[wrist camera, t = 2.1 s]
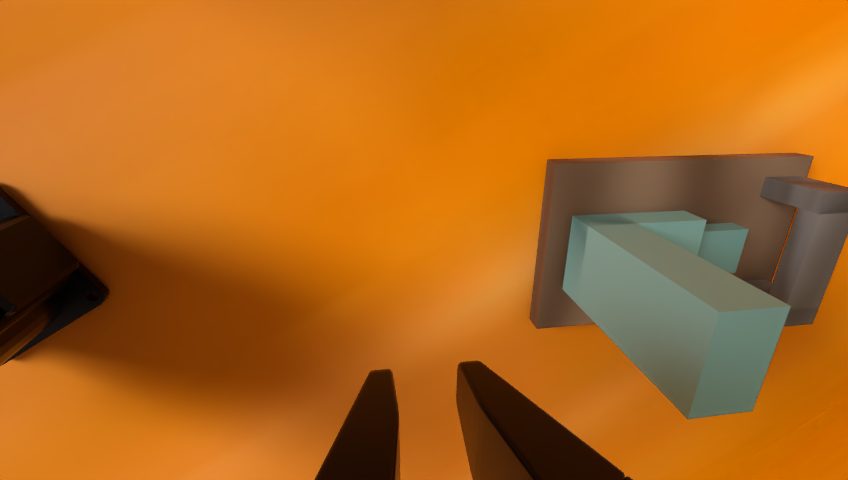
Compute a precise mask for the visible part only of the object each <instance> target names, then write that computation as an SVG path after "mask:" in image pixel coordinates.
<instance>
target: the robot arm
mask: <svg viewBox="0 0 848 480" xmlns="http://www.w3.org/2000/svg"><path fill="white" fill-rule="evenodd" d="M91 291H92V292H95V293H97V295H98V297H95V296H93V295H92V294H91ZM108 296H109V290H108V289H107V287H106V286H105V285H104V284H103V283H101V282H100V281H99V280H98V279H97V278H96V277H95V276H94V275H93V274H92V273H91V272H90V271H89V270H88V269H87V268H86V267H85V266H83V265H82V264H81V263H80V262H79V261H78V259H77V258H76V257H74V256H73V255H72V254H71V253H70V252H69V251H68V250H67V249H66V248H65V247H64V246H63V245H62V244H61V243H60V242H59V241H58V240H56V239H55V238H54V237H53V236H52V235H51V234H50V233H49V232H48V231H47V230H46V229H45V228H44V227H43V226H42V225H41V224H40V223H38V222H37V221H36V220H35V219H34V218H33V217H32V216H30V215H29V214H28V213H27V212H26V211H25V210H24V209H23V208H22V207H21V206H20V205H19V204H18V203H17V202H16V201H15V200H13V199H12V198H11V197H10V196H9V195H8V194H7V193H6V192H5V191H4V190H3V189H2V188H1V187H0V366H1V365H3V364H5V363H6V362H8V361H10V360H11V359H13V358H15V357H16V356H18V355H19V354H21V353H23V352H24V351H26V350H28V349H29V348H31V347H32V346H34V345H36V344H37V343H39V342H41V341H42V340H44V339H45V338H47V337H49V336H50V335H52V334H54V333H55V332H57V331H58V330H60V329H62V328H63V327H65V326H67V325H68V324H70V323H71V322H73V321H75V320H76V319H78V318H80V317H81V316H83V315H84V314H86V313H88V312H89V311H91V310H93V309H94V308H96V307H97V306H99V305H101V304H102V303H103V302H104V301H105V300H106V299H107V298H108ZM456 401H457V408H458V413H459V418H460V423H461V427H462V432H463V437H464V442H465V446H466V451H467V456H468V460H469V465H470V470H471V474H472V478H473V480H633V479H631V478H630V477H628V476H627V477H625V475H624V473H623V472H622V471H621V470H619V469H618V468H617V467H616V466H614V465H613V464H612V463H610V462H609V461H608V460H607V459H605V458H604V457H603V456H601V455H600V454H599V453H597V452H596V451H595V450H594V449H592V448H591V447H590V446H588V445H587V444H586V443H585V442H583V441H582V440H581V439H579V438H578V437H577V436H576V435H574V434H573V433H572V432H570V431H569V430H568V429H567V428H565V427H564V426H563V425H561V424H560V423H559V422H558V421H556V420H555V419H554V418H552V417H551V416H550V415H549V414H547V413H546V412H545V411H543V410H542V409H541V408H540V407H538V406H537V405H536V404H534V403H533V402H532V401H531V400H529V399H528V398H527V397H525V396H524V395H523V394H522V393H520V392H519V391H518V390H516V389H515V388H514V387H513V386H511V385H510V384H509V383H507V382H506V381H505V380H504V379H502V378H501V377H500V376H498V375H497V374H496V373H495V372H493V371H492V370H491V369H489V368H488V367H487V366H486V365H484V364H483V363H482V362H480V361H467V362H461V363H459V365H458V369H457V391H456ZM315 480H400V441H399V411H398V403H397V397H396V391H395V385H394V379H393V373H392V371H391V370H390V369H383V370H373V371H371V372H370V373H369V374H368V376H367V378H366V380H365V382H364V384H363V386H362V388H361V390H360V392H359V394H358V396H357V398H356V400H355V402H354V404H353V406H352V408H351V410H350V411H349V413H348V415H347V417H346V419H345V421H344V423H343V425H342V427H341V429H340V431H339V433H338V435H337V437H336V439H335V441H334V443H333V445H332V447H331V449H330V451H329V453H328V454H327V456H326V458H325V460H324V462H323V464H322V466H321V468H320V470H319V472H318V474H317V476H316V478H315Z"/></svg>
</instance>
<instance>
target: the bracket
mask: <svg viewBox="0 0 848 480" xmlns="http://www.w3.org/2000/svg"><path fill="white" fill-rule="evenodd" d="M813 157H814V156H809V155H804V154H798V153H774V154H736V155H698V156H661V157H623V158H585V159H547V168H546V177H545V186H544V195H543V204H542V213H541V222H540V231H539V240H538V249H537V258H536V267H535V276H534V285H533V294H532V303H531V312H530V320H531V321H532V323H533V324H534V325H535V327H536V328H537V329H539V328H551V327H562V326H574V325H585V324H595V322H594V321H593V320H592V319H591V318H590V317H589V316H588V315H587V314H586V313H585V312H584V311H583V310H582V309H581V308H580V307H579V306H578V305H577V304H576V303H575V302H574V301H573V300H572V299H571V298H570V297H569V296H568V294H567V293H566V292H565V291H564V290H563V289H562V288H563V281H564V274H565V267H566V259H567V252H568V245H569V238H570V231H571V223H572V216H578V215H599V214H620V213H641V212H662V211H687V212H689V213H691V214H694V215H696V216H698V217H701V218H703V219H706V220H707V221H706V224H717V223H734V224H737V225H739V226H742V227H744V228H747V229H749V230H748V233H747V236H746V240H745V243H744V246H743V250H742V253H741V256H740V260H739V263H738V266H737V269H736V273H730V274H732V275H734V276H736V277H738V278H739V279H741V280H743V281H745V282H747V283H749V284H751V285H752V286H754V287H756V288H758V289H760V290H762V291H764V292H766V293H767V294H769V295H771V296H773V297H775V298H777V299H779V300H780V301H782V302H784V303H786V304H788V305H790V306H791V307H790V310H789V313H788V315H787V318H786V321H785V324H784V326H794V325H805V324H812V323H813V321H814V318H815V316H816V313H817V311H818V308H819V306H820V303H821V301H822V298H823V296H824V293H825V290H826V288H827V285H828V283H829V280H830V278H831V275H832V273H833V270H834V268H835V265H836V263H837V260H838V258H839V255H840V252H841V250H842V247H843V245H844V242H845V240H846V237H847V235H848V187H844V186H840V185H836V184H831V183H827V182H823V181H819V180H814V179H810V178H807V175H808V172H809V169H810V166H811V163H812V160H813ZM796 207H797V208H798V210H797V213H796V216H795V219H794V222H793V225H792V228H791V231H790V234H789V237H788V240H787V242H786V245H785V248H784V251H783V254H782V257H781V260H780V263H779V266H778V269H777V272H776V275H775V278H774V281H773V283H771V281H772V278H773V275H774V272H775V269H776V266H777V263H778V260H779V257H780V254H781V251H782V248H783V245H784V242H785V239H786V237H787V234H788V231H789V228H790V225H791V222H792V219H793V216H794V213H795V210H796ZM784 326H783V327H784Z"/></svg>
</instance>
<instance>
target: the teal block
mask: <svg viewBox="0 0 848 480" xmlns="http://www.w3.org/2000/svg"><path fill="white" fill-rule="evenodd" d="M706 221H707V220H706V219H703V218H701V217H698V216H696V215H694V214H691V213H689V212H687V211H662V212H641V213H620V214H599V215H578V216H572V223H571V231H570V238H569V245H568V252H567V259H566V267H565V274H564V281H563V288H562V289H563V290H564V291H565V292H566V293H567V294H568V296H569V297H570V298H571V299H572V300H573V301H574V302H575V303H576V304H577V305H578V306H579V307H580V308H581V309H582V310H583V311H584V312H585V313H586V314H587V315H588V316H589V317H590V318H591V319H592V320H593V321H594V322H595V324H596V325H597V326H598V327H599V328H600V329H601V330H602V331H603V332H604V333H605V334H606V335H607V336H608V337H609V338H610V339H611V340H612V341H613V342H614V343H615V344H616V345H617V346H618V347H619V348H620V349H621V351H622V352H623V353H624V354H625V355H626V356H627V357H628V358H629V359H630V360H631V361H632V362H633V363H634V364H635V365H636V366H637V367H638V368H639V369H640V370H641V371H642V372H643V373H644V374H645V375H646V376H647V377H648V379H649V380H650V381H651V382H652V383H653V384H654V385H655V386H656V387H657V388H658V389H659V390H660V391H661V392H662V393H663V394H664V395H665V396H666V397H667V398H668V399H669V400H670V401H671V402H672V403H673V404H674V405H675V407H676V408H677V409H678V410H679V411H680V412H681V413H682V414H683V415H684V416H685V417H686V418H687V419H693V418H701V417H709V416H717V415H725V414H733V413H741V412H749V411H753V408H754V405H755V403H756V400H757V397H758V394H759V392H760V389H761V386H762V384H763V381H764V378H765V375H766V373H767V370H768V367H769V364H770V362H771V359H772V356H773V354H774V351H775V348H776V345H777V343H778V340H779V337H780V335H781V332H782V329H783V326H784V324H785V321H786V318H787V315H788V313H789V310H790V307H791V306H790V305H788V304H786V303H784V302H782V301H780V300H779V299H777V298H775V297H773V296H771V295H769V294H767V293H766V292H764V291H762V290H760V289H758V288H756V287H754V286H752V285H751V284H749V283H747V282H745V281H743V280H741V279H739V278H738V277H736V276H734V275H732V274H730V273H736V269H737V266H738V263H739V260H740V256H741V253H742V250H743V246H744V243H745V240H746V236H747V233H748V230H749V229H747V228H744V227H742V226H739V225H737V224H734V223H717V224H706Z"/></svg>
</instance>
